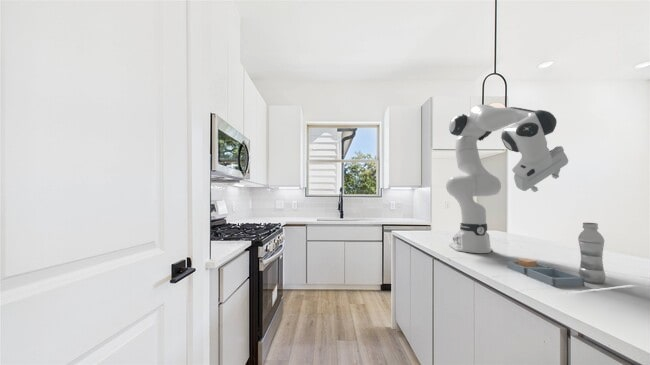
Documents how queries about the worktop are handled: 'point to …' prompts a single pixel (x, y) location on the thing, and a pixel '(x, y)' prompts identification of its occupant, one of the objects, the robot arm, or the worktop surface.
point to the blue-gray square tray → (521, 269)
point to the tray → (555, 277)
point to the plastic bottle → (591, 254)
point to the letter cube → (527, 263)
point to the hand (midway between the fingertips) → (545, 184)
